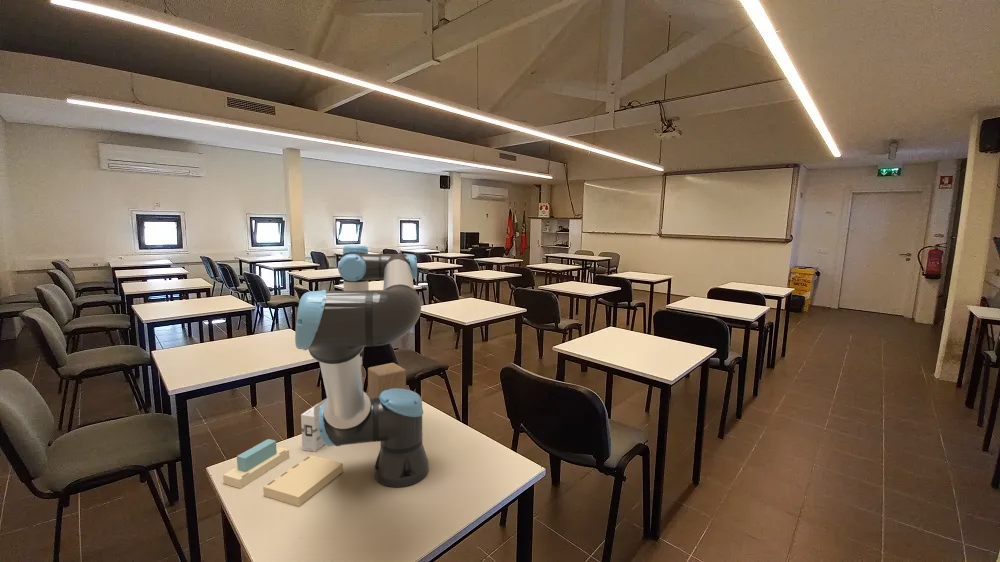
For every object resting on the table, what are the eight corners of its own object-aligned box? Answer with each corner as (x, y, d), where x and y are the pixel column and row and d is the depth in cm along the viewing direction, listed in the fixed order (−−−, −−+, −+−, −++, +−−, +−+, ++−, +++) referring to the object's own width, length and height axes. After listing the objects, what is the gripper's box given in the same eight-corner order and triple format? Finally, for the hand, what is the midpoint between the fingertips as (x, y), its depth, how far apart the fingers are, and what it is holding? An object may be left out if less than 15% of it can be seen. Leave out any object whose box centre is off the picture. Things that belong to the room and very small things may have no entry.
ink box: (318, 436, 135) (317, 394, 133) (332, 438, 134) (331, 395, 133) (301, 450, 127) (299, 404, 125) (315, 452, 126) (314, 406, 124)
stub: (289, 457, 123) (288, 436, 122) (240, 488, 108) (238, 465, 107) (273, 453, 125) (272, 433, 124) (223, 483, 110) (222, 460, 109)
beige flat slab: (343, 471, 117) (342, 462, 116) (298, 506, 102) (298, 496, 101) (310, 462, 120) (310, 454, 120) (263, 495, 105) (263, 486, 105)
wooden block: (394, 413, 154) (393, 362, 151) (406, 423, 146) (406, 369, 144) (368, 420, 147) (367, 367, 145) (380, 431, 140) (379, 375, 137)
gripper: (380, 293, 132) (381, 364, 135) (347, 291, 136) (349, 359, 139) (366, 297, 125) (367, 372, 128) (331, 294, 129) (333, 366, 132)
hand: (357, 365), depth 133 cm, fingers closed
